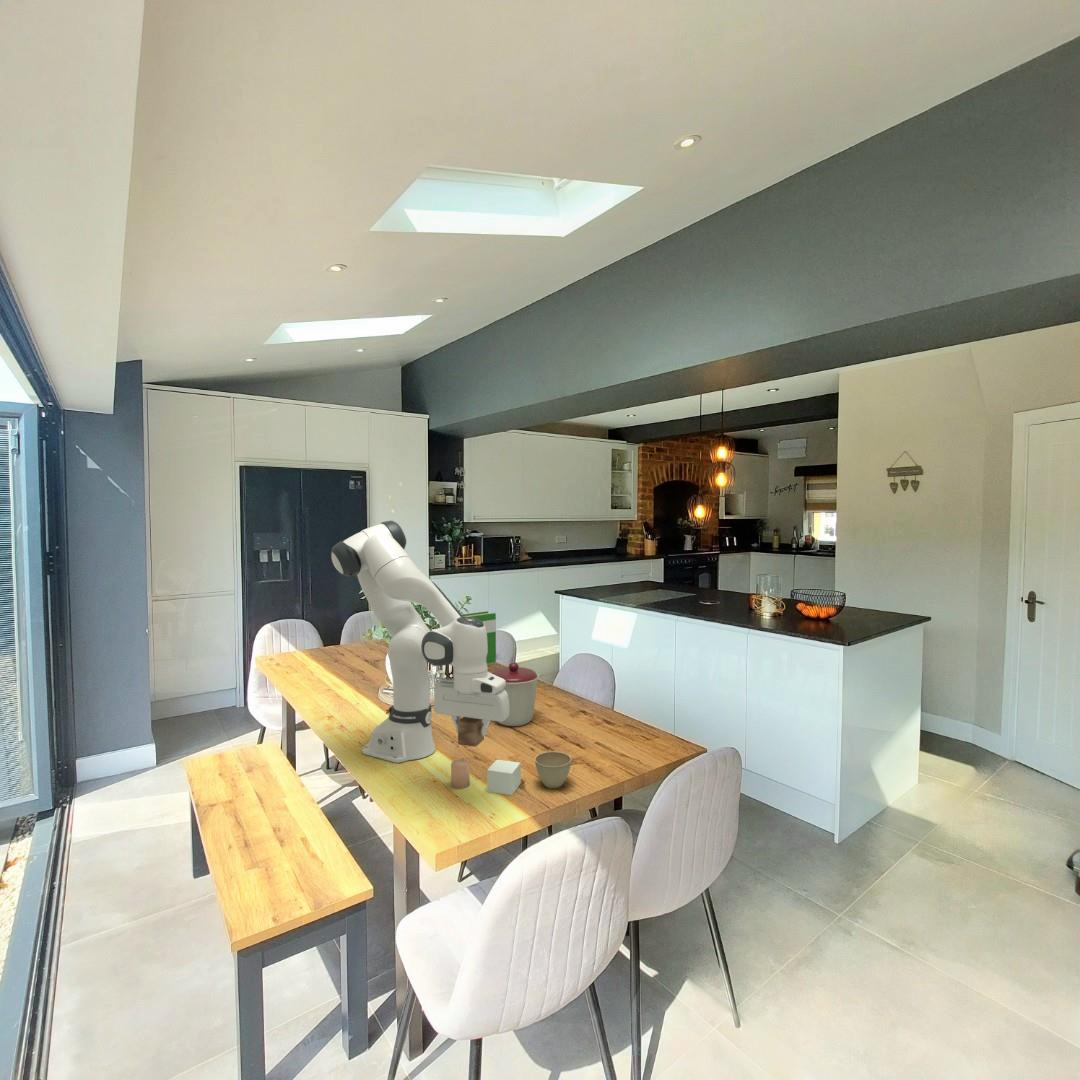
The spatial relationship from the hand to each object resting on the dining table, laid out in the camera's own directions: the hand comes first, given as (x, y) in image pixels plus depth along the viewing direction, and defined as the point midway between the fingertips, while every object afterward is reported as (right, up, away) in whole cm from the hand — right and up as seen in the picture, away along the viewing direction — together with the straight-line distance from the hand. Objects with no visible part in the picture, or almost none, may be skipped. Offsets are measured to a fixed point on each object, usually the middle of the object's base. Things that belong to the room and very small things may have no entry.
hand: (471, 733), depth 155 cm
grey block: (+8, -17, +7) cm, 20 cm away
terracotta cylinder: (-4, -17, +9) cm, 19 cm away
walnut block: (0, -2, 0) cm, 2 cm away
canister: (+8, -14, +57) cm, 60 cm away
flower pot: (+21, -17, +9) cm, 29 cm away
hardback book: (-13, -10, +137) cm, 138 cm away
